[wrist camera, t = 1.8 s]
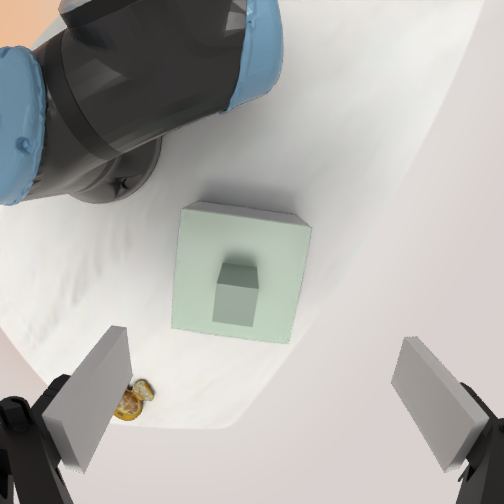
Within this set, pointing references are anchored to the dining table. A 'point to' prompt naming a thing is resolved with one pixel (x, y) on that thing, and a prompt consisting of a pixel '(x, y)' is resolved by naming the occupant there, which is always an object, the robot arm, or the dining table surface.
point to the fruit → (133, 401)
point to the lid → (238, 275)
